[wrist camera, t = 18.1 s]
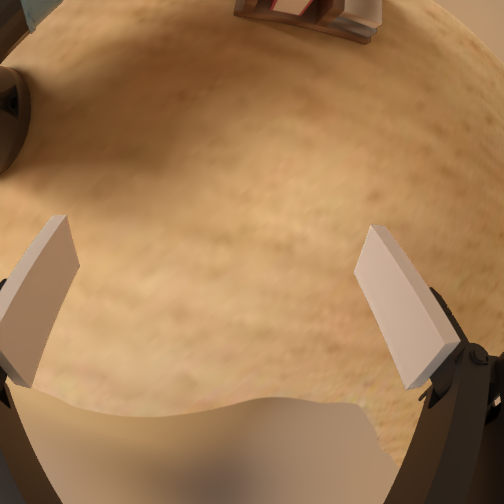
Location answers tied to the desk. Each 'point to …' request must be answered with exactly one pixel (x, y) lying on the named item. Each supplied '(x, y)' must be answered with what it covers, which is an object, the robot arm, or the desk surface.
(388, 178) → the desk surface
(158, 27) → the desk surface
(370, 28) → the book stand
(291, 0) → the book
